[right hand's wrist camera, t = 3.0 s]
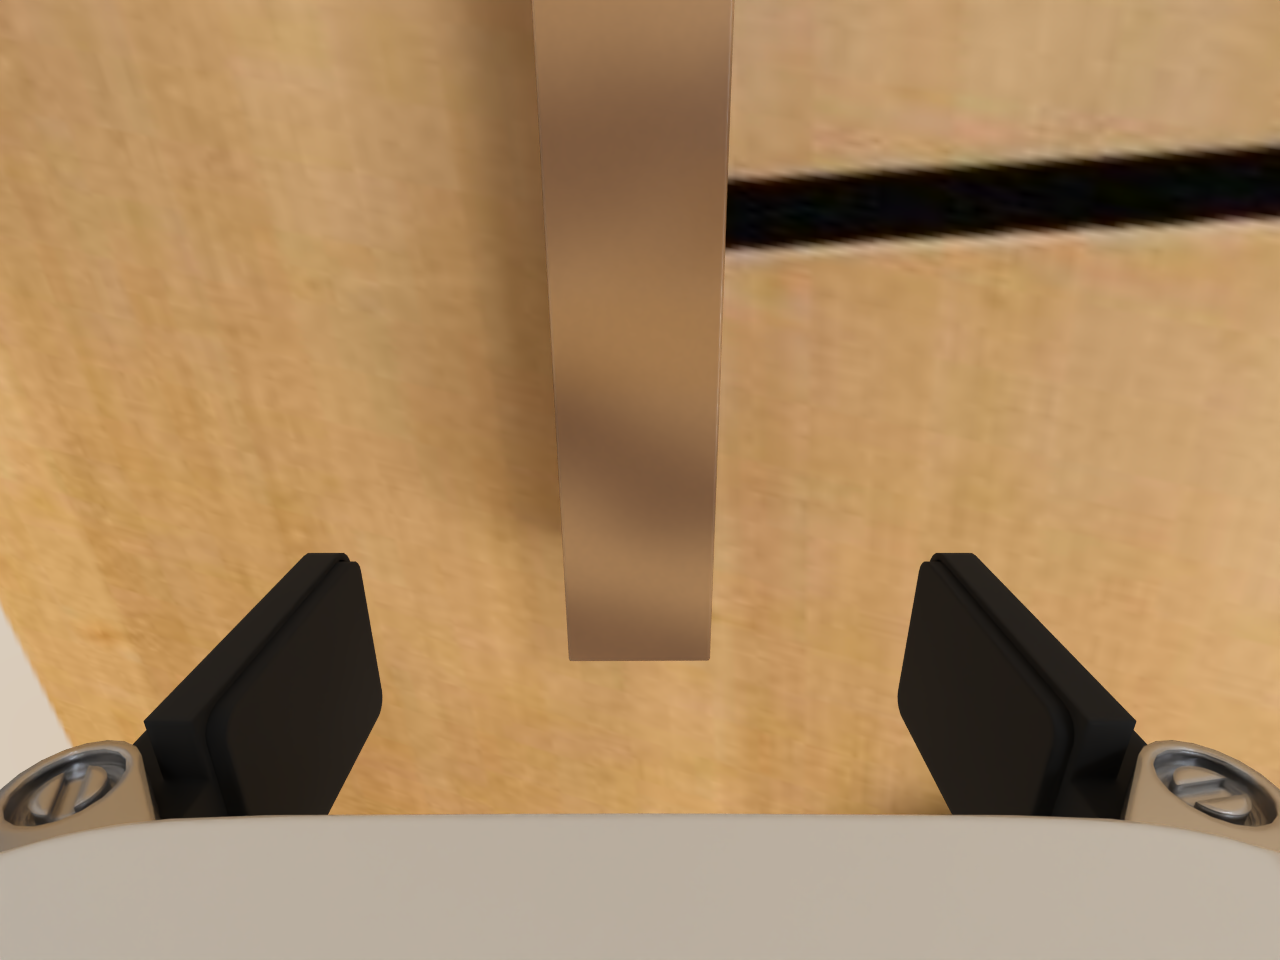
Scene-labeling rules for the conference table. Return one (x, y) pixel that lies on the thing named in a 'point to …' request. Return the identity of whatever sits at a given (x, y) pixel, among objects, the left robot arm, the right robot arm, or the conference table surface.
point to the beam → (635, 310)
